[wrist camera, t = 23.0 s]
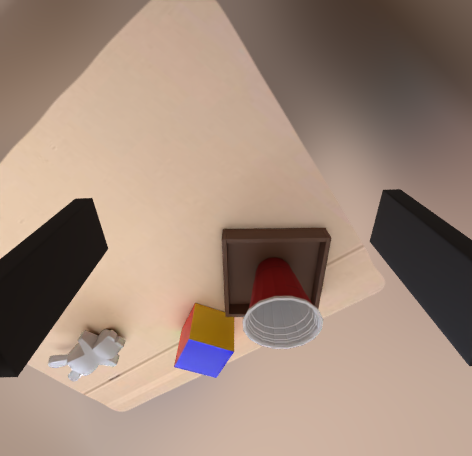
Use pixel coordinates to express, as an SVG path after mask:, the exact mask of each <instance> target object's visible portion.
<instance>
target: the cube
mask: <svg viewBox="0 0 472 456" xmlns="http://www.w3.org/2000/svg"><path fill="white" fill-rule="evenodd" d="M233 353H234V317H225V312H222V311H219V310H216V309H213V308H210V307H206V306H203V305H200V304H197V303H195V305H194V307H193V309H192V311H191V313H190V315H189V317H188V318H187V320H186V322H185V324H184V326H183V328H182V331H181V336H180V341H179V346H178V350H177V355H176V360H175V365H174V367H176V368H180V369H184V370H188V371H192V372H195V373H199V374H203V375H207V376H211V377H215V378H216V377H217V376H218V374H219V373H220V372H221V370H222V369H223V367H224V366H225V364H226V363H227V361H228V360H229V358H230V357H231V356H232V354H233Z"/></svg>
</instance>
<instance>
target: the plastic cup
mask: <svg viewBox="0 0 472 456" xmlns="http://www.w3.org/2000/svg"><path fill="white" fill-rule="evenodd" d="M322 324H323V318H322V316H321V314H320V312H319V310H318V308H317V307H316V306H314V305H313V304H312V302H311V300H309V298H308V296H307V295H306V293H305V291H304V290H303V288H302V286H301V284H300V283H299V281H298V279H297V277H296V275H295V274H294V273H293V271H292V269H291V268H290V266H289V264H287V262H285V261H284V260H283V259H280V258H277V257H275V258H268V259H265V260H263V261H262V262H261V263H260V264H259V265H258V267H257V270H256V273H255V280H254V283H253V290H252V296H251V302H250V305H249V309H248V311H247V313H246V315H245V317H244V318H243V331H244V332H245V333H246V335H247V336H248V338H249V339H250V340H252V341H254V342H255V343H257V344H259V345H261V346H265V347H269V348H273V349H289V348H294V347H297V346H302V345H304V344H305V343H308V342H309V341H311V340H313V339H314V338H315V337H316V336H317V335H318V334H319V332H320V331H321V330H322Z"/></svg>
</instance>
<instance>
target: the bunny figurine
mask: <svg viewBox="0 0 472 456" xmlns="http://www.w3.org/2000/svg"><path fill="white" fill-rule="evenodd" d="M78 342H79V343H78V344H77V345H76V346H75V347H74V348H73V349H72V350H71V352H70V353H69V354H68V355H54V356H50V358H49V362H48V365H49V367H52V368H58V367H61V366H65V365H69V366H70V367H71V369H72V371H71V372H70V374H69V375H68V377H69V379H70V380H72V381H77V380H78V379H79V378H80V377H81V376H82V375H85V376H86V375H89V374H90V373H92V372H93V371H94V370H95V369H96V368H97V367H98V365H107V366H113V367H114V366H115V365H117V362H118V359H119V355H118V354H117V353H118V352H119V350H120V349H121V348H122V347H124V344H125V340H124V339H123V338H122V337H120V336H117V333H115V332H114V331H113V330H110V331H109V330H107V329H104V330H103V331H102V332H101V333H100V335H99V336H98V335H95V334H93V333H91V332H88V331H86V330H85V331H83V332H82V333H81V335H80V337H79V339H78Z"/></svg>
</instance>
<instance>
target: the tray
mask: <svg viewBox="0 0 472 456" xmlns="http://www.w3.org/2000/svg"><path fill="white" fill-rule="evenodd" d="M330 242H331V237H330V235H329V233H328V232H327V230H326V228H286V229H223V232H222V252H223V274H224V296H225V317H245V315H246V313H247V311H248V309H249V305H250V302H251V296H252V290H253V283H254V280H255V273H256V270H257V267H258V265H259V264H260V263H261V262H262V261H263V260H265V259H268V258H275V257H277V258H280V259H283V260H284V261H285V262H287V264H289V266H290V268H291V269H292V271H293V273H294V274H295V275H296V277H297V279H298V281H299V283H300V284H301V286H302V288H303V290H304V291H305V293H306V295H307V296H308V298H309V300H311V302H312V304H313V305H314V306H316V307H317V308H318V307H319V302H320V296H321V291H322V286H323V280H324V275H325V269H326V264H327V259H328V253H329V248H330Z"/></svg>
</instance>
